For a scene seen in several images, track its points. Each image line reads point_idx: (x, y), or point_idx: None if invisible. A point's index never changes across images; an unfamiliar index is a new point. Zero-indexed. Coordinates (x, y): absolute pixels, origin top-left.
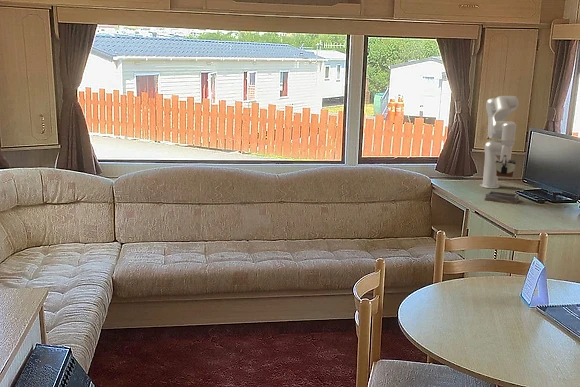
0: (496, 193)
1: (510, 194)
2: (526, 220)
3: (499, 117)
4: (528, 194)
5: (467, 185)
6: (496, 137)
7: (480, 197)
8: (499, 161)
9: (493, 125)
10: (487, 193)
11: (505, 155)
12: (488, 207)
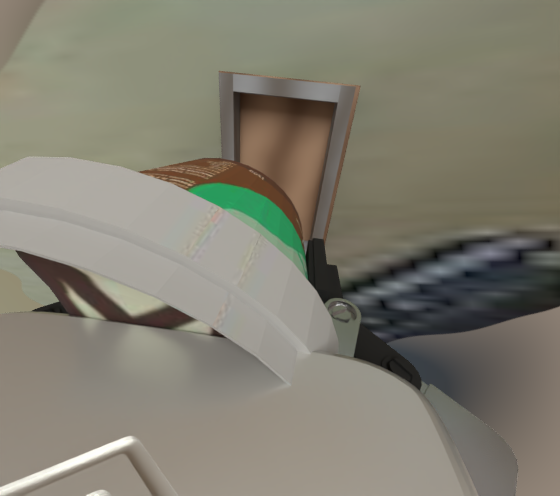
0: (329, 143)
1: (314, 223)
2: (11, 264)
3: None
4: (468, 284)
5: None
6: None
7: (298, 26)
8: (63, 296)
9: None
10: (250, 82)
11: None
12: (66, 120)
